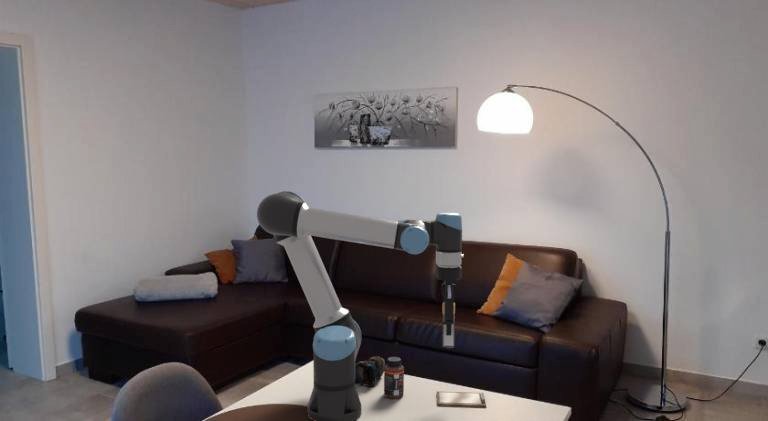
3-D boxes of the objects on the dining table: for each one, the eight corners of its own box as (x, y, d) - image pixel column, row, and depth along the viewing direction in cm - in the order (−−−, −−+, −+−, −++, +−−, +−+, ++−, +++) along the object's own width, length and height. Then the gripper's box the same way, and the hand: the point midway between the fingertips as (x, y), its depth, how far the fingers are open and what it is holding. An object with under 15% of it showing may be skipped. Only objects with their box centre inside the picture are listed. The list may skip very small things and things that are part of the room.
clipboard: (437, 405, 167) (437, 400, 167) (436, 393, 176) (436, 388, 176) (486, 407, 166) (486, 402, 166) (482, 394, 175) (482, 390, 175)
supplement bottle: (401, 400, 171) (402, 363, 170) (382, 398, 172) (382, 361, 171) (405, 392, 177) (405, 356, 176) (386, 390, 178) (386, 354, 177)
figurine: (344, 366, 182) (371, 348, 194) (352, 391, 182) (377, 371, 195) (366, 364, 177) (391, 346, 190) (373, 390, 177) (398, 370, 190)
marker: (442, 348, 170) (442, 305, 169) (442, 344, 174) (442, 301, 173) (454, 348, 170) (455, 305, 169) (454, 344, 173) (454, 302, 172)
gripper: (463, 270, 161) (462, 352, 163) (460, 260, 177) (459, 335, 179) (436, 270, 162) (436, 351, 164) (435, 260, 178) (435, 334, 180)
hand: (448, 343), depth 172 cm, fingers closed on marker, 3 cm apart
